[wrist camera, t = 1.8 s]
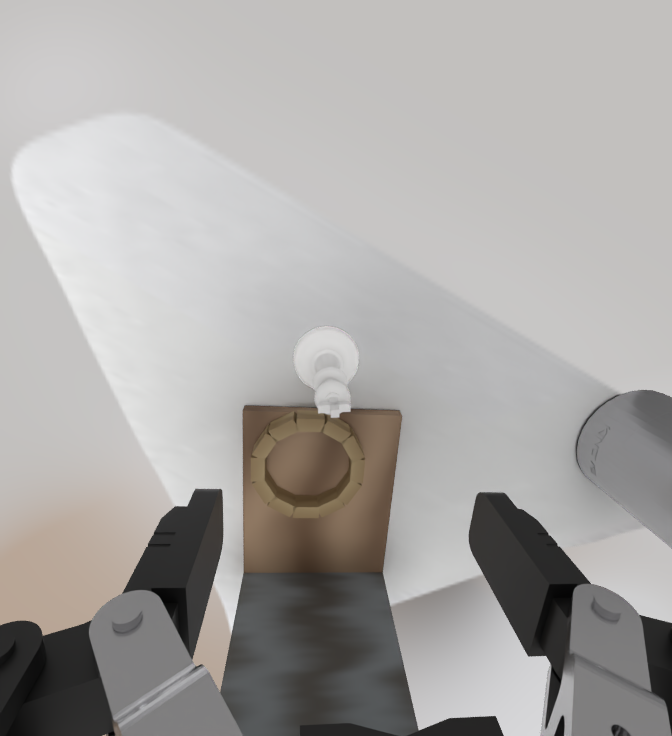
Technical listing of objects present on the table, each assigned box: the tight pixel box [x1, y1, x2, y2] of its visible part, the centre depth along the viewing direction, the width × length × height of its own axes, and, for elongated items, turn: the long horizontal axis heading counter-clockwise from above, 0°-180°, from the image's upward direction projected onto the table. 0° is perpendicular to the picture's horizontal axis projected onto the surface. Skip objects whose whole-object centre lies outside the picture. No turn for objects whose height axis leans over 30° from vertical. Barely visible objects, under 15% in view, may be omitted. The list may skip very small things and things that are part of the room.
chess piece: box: [293, 326, 359, 418], centre depth 24 cm, size 5×5×10 cm
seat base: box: [220, 406, 419, 736], centre depth 24 cm, size 12×16×18 cm
